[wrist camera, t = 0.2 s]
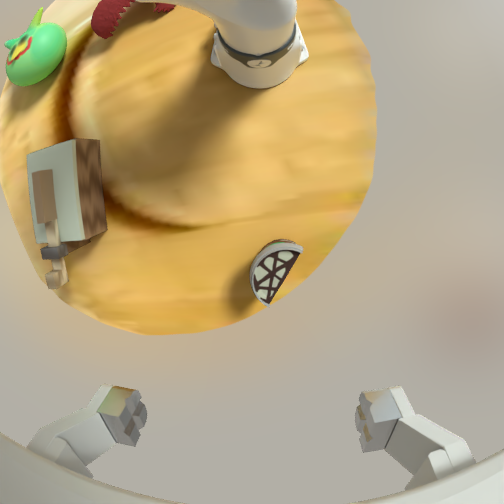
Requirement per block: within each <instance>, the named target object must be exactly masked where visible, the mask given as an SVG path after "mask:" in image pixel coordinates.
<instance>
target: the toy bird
mask: <svg viewBox="0 0 504 504" xmlns="http://www.w3.org/2000/svg"><path fill="white" fill-rule="evenodd" d="M42 12H43V8H40V9H39V10H38V12H37V13H36V15H35V16H34V18H33V20H32V22H31V24H30V26H29V28H28V29H27V31H26V32H25V33H24V34H23V35H22V36H20V37H19V38H17V39H12V40H9V41H6V42H5V44H4V45H5V47H7V48H8V49H10V52H9V54H8V57H7V62H6V73H7V76H8V78H9V80H10V81H11V82H12V83H14V84H15V85H18V86H29V85H33V84H36V83H38V82H40V81H41V80H43V79H45V78H46V77H47V76H48V75H50V74H51V73H52V72H53V71H54V70H55V68H56V67H57V66H58V65H59V63H60V62H61V60H62V58H63V56H64V54H65V51H66V47H67V37H66V34H65V32H64V30H63V29H62V28H61V27H60V26H59V25H57V24H55V23H42V24H40V21H41V16H42Z"/></svg>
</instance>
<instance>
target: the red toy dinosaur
mask: <svg viewBox="0 0 504 504" xmlns="http://www.w3.org/2000/svg"><path fill="white" fill-rule="evenodd" d="M130 2H135V0H101V1H100V2H99V3H98V5H97V7H96V9H95V10H94V12H93V16H92V20H91V27H92V29H93V30H94V31H95V33H96V34H97V35H98V36H100V37H102V38H104V39H107V38H108V37H111V36H113V34H111V33H110V32H113V31H115V29H114V28H113V27H114V26H118V25H119V24H118V22H117V20H119V19H121V18H122V17H121V16H120V14H119V13H123V12H126V10H125V9H124V8H123V7H130ZM144 3H151V2H144ZM154 3H155V4H156V8H155V10H154V12H155V11H156V10H158V13H159V12H160V11H161V10H163V12H165V11H167V12H169V11H170V9H174V4H168V3H156V2H154Z"/></svg>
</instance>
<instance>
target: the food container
mask: <svg viewBox="0 0 504 504" xmlns="http://www.w3.org/2000/svg"><path fill="white" fill-rule="evenodd" d="M302 251H303V247H302V246H300V245H297V244H296V243H295V242H293V241H290V240H285V239H279V240H274V241H272V242H270V243H268V244H267V245H266V246H264V247H263V249H262V250H261V252H260V253H259V254H258V255H257V256H256V258H255V259H254V261H253V263H252V265H251V269H250V284H251V287H252V290H253V292H254V294H255V296H256V297H257V298H258V299H259V301H260V302H262V303H263V304H264V305H265V306H267V307H270V302H271V301H272V299H273V297H274V295H275V294H276V292H277V291H278V289H279V288H280V286H281V285H282V283H283V281H284V280H285V278H286V276H287V275H288V273H289V271H290V269H291V268H292V266H293V264H294V263H295V261H296V259H297V258H298V256H299V254H300V253H302Z"/></svg>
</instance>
